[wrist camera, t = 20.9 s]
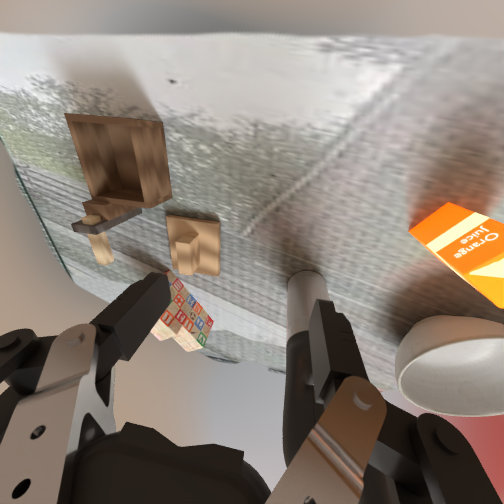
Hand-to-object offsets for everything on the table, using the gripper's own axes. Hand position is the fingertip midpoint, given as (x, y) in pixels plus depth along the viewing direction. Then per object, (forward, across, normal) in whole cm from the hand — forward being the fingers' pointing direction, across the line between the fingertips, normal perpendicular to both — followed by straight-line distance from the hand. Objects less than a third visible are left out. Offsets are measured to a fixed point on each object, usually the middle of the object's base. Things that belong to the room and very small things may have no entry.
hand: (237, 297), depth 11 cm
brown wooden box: (+33, +29, +1) cm, 44 cm away
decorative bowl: (+33, -44, +32) cm, 64 cm away
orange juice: (+33, -33, +6) cm, 47 cm away
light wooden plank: (+23, +33, +12) cm, 42 cm away
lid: (+33, +17, +16) cm, 41 cm away
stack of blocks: (+33, +22, +36) cm, 54 cm away
